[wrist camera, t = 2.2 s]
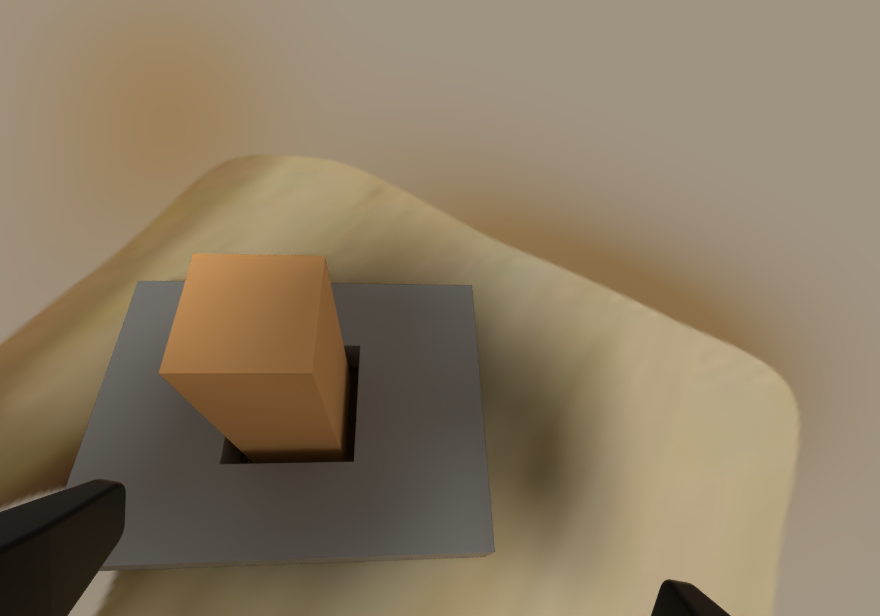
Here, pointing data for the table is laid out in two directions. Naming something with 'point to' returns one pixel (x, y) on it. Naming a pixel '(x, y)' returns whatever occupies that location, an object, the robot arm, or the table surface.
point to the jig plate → (303, 484)
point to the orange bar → (263, 355)
